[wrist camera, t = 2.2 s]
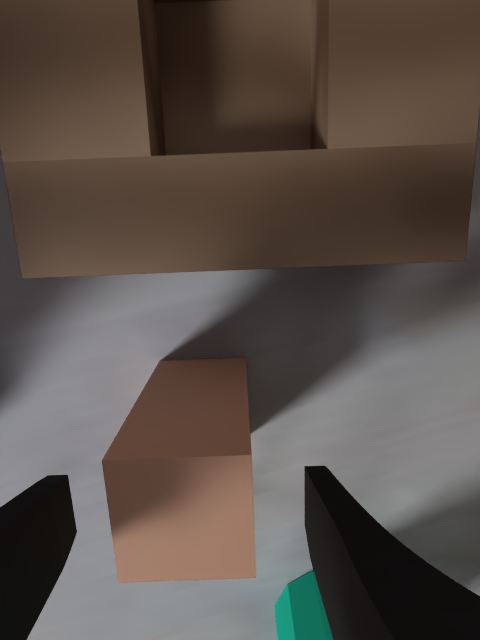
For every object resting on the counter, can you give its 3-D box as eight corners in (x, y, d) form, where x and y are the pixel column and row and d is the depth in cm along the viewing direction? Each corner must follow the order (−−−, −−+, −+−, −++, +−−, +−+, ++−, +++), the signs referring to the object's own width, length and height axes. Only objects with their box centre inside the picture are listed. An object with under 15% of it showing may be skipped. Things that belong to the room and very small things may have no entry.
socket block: (414, 253, 17) (465, 260, 13) (70, 266, 17) (22, 278, 13) (436, -113, 14) (512, -242, 10) (21, -95, 14) (-61, -216, 10)
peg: (248, 435, 19) (256, 578, 11) (166, 438, 19) (118, 582, 11) (245, 357, 18) (251, 454, 10) (159, 360, 18) (102, 460, 11)
